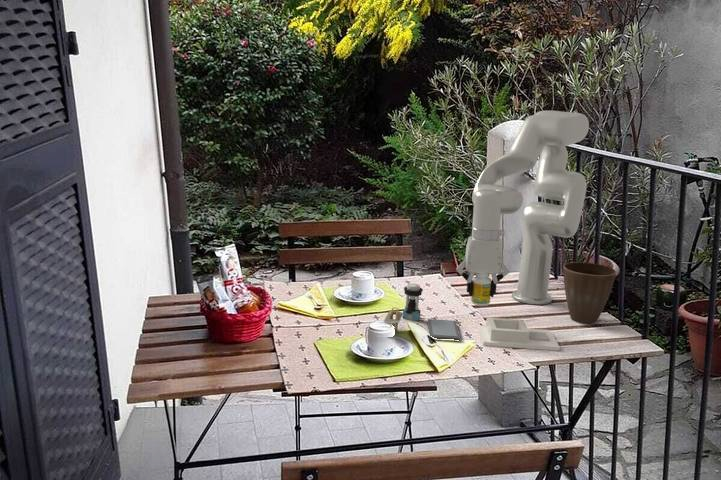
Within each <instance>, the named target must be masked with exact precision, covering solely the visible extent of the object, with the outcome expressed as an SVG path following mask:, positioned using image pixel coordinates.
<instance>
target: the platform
mask: <svg viewBox="0 0 721 480" xmlns="http://www.w3.org/2000/svg"><path fill="white" fill-rule="evenodd" d="M394 315H395V318H394ZM402 319H403V311H400V308H398V306H397V307H396V306H395V307H394V306H393V307H392V308H391V309H389V310H388V313H387V314H386V316H385V318H384V320H383V323H384V324H387V325H388V324H392V325H393V326H394V327H395V329H394V330H395V331H398V327H399V323H400V322H401V320H402Z"/></svg>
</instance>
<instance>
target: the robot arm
mask: <svg viewBox="0 0 721 480" xmlns="http://www.w3.org/2000/svg"><path fill="white" fill-rule="evenodd" d="M589 129H590V122H589V119H588V117H587V116H586V115H585V114H583V113H580V112H579V113H578V112H571V111H570V112H569V111H561V110H539V111H537V112H536V113H534V114H532V115H530V116H528V117H526V118H525V119H524V121H523V122H522V124H521V126H520V128H519V131H518V132H517V134H516V136H515V139H514V141H513V143H512V144H511V146H510V148H509V151H507V153H506V154H504V155H502V156H500V157H497V159H496V160H494V161H493V162H491V163H490V164H489V165H487V166H486V167H485V168H484V169H483V171H482V172H481V174H480V175H479V178H478V179H477V182H475V185H474V188H473V191H472V196H471V200H472V203H473V213H472V224H471V225H472V228H471V235H470V236H468V237H467V243H466V249H465V255H464V260H463V261H462V262H461V263H460V264H459V265H457V267H456V268H455V270H456V272H457V273H458V274H460V276H462V278H463V279H464V280H465V281H466V282H467V283H466V284H467V285H466V293H468V295H469V297H471V296H472V292H473V282H472V280H473V278H474V277H475V274H479V273H486V274H490V276H491V293H490V298H494V294H497V284H498V283H499V282H500V281H501V280H502V279H504V278H505V276H507V275H509V274H510V272H511V271H510V269H509V268H508V267H507V265H506V264H505V263H504V262H503V250H502V249H503V247H502V246H503V245H502V238H501V236H505V230H502V229H501V228H500V227H501V215H511V214H515V213H517V212H518V211H519V210H520V209H521V207H522V205H523V203H524V201H523V200H524V197H523V194H522V192H521V190H519V189H517V188H516V187H511V186H506V185H505V186H504V185H499V184H496V183H497V182H498V181H500V180H501V179H504V178H505V177H509V176H512V175H515V174H520V173H523V172H526V171H529V170H531V169H533V168H534V167H535V165H536V163H537V162H538V164H537V168H536V169H537V170H536V173H535V177H534V184H533V191H534V194H535V195H536V196H538V197H539V198H543V199H545V200H552V201H553V200H554V201H559V202H563V203H564V205H560V204H559V205H558V204H554V203H549V202H543V201H534V202H530V203H527V205H526V206H525V207H523V208H524V209H523V211H522V217H521V221H522V245H521V246H522V247H521V255H520V262H519V263H520V264H519V272H518V281H517V282H518V283H517V290H514V291H513V292H512V293H511V298H512V299H514V300H515V301H517V302H520V303H523V304H527V305H528V304H529V305H548V304H550V303H552V301H553V297H552V296H551V295H550V294H549V293H548V292H549V285H550V275H551V268H552V259H553V251H554V247H553V242H552V239H551V238H550V236H555V237H559V238H560V237H561V238H565V239H567V238H569V239H570V238H572V237H574V236H575V235H576V233H577V231H578V228H579V225H580V221H581V217H582V212H583V208H584V203H585V198H586V192H587V181H586V178H585V176H584V175H583V174H582V173H580V172H577V171H572V170H571V171H570V170H566V169H567V164H568V158H569V153H568V149H567V148H566V147H567V146H571V145H574V144H576V143H580V142H581V141H583V140H584V139H585V138H586V137H587V135H588V132H589ZM538 159H539V160H538ZM464 268H465V270H464Z"/></svg>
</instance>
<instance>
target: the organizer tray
mask: <svg viewBox="0 0 721 480" xmlns="http://www.w3.org/2000/svg"><path fill="white" fill-rule="evenodd" d="M485 323H486V324H485V325H479V324H478V325H477V330H478V333H479V337H480V340H481V342H482V345H483V346H487V347H488V346H489V347H499V348H500V347H502V348H514V349H515V348H517V349H529V350H530V349H531V350H541V351H542V350H543V351H556V352H557V351H558V352H559V351H560V349H561V346H560V345H559V343H558V341H557V340H556V338H555V337H554V335H553V333H552V332H551V330H550V329H538V328H537V329H535V328H528V326H527V324H526V322H525V321H524V319H516V318H515V319H513V318H504V317H503V318H500V317H499V318H498V317H486V322H485Z"/></svg>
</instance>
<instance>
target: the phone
mask: <svg viewBox="0 0 721 480" xmlns="http://www.w3.org/2000/svg"><path fill="white" fill-rule="evenodd" d="M427 327H428V328H427V329H428V334H430V336H432V337H434V338H437V339H454V340H459V341H460V342H461V335H460V332H459V327H458V324H457V321H456V320H447V319H437V318H436V319H435V318H434V319H433V318H428V319H427ZM430 336H429V337H430Z"/></svg>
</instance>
